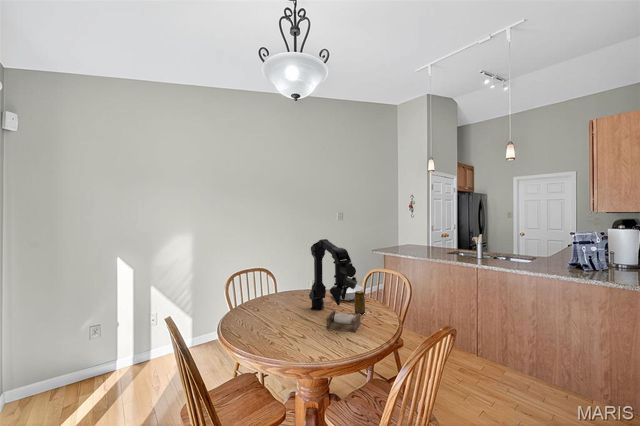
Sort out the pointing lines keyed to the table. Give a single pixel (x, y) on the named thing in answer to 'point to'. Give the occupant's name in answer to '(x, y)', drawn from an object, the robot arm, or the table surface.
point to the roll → (343, 319)
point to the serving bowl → (352, 292)
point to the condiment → (359, 303)
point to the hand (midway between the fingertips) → (341, 302)
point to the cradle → (340, 326)
